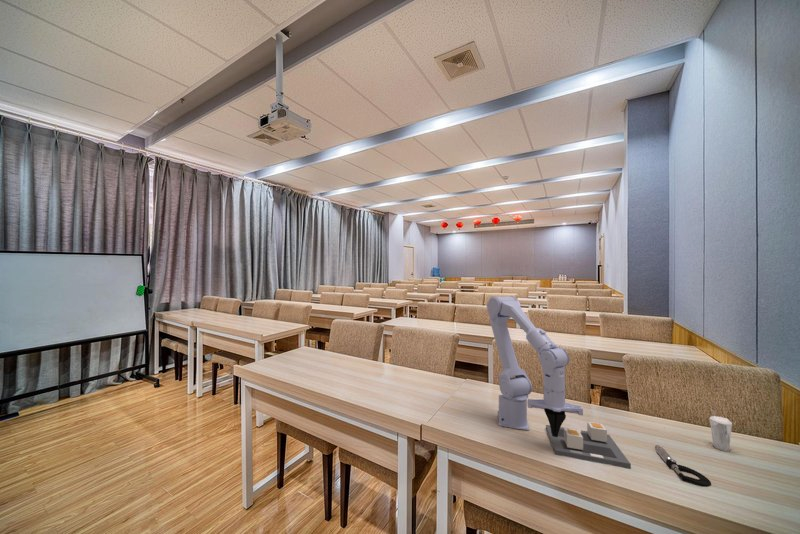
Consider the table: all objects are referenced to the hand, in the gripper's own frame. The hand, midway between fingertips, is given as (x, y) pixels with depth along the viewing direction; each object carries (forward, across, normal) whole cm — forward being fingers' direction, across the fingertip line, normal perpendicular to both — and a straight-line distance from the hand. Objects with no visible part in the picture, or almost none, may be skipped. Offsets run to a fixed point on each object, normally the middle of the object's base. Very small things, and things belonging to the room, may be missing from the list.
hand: (554, 435), depth 85 cm
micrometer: (+4, +31, +2) cm, 31 cm away
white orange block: (+2, +13, +7) cm, 15 cm away
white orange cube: (+2, +5, 0) cm, 5 cm away
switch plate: (+3, +8, +4) cm, 10 cm away
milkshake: (+4, +48, +17) cm, 51 cm away
